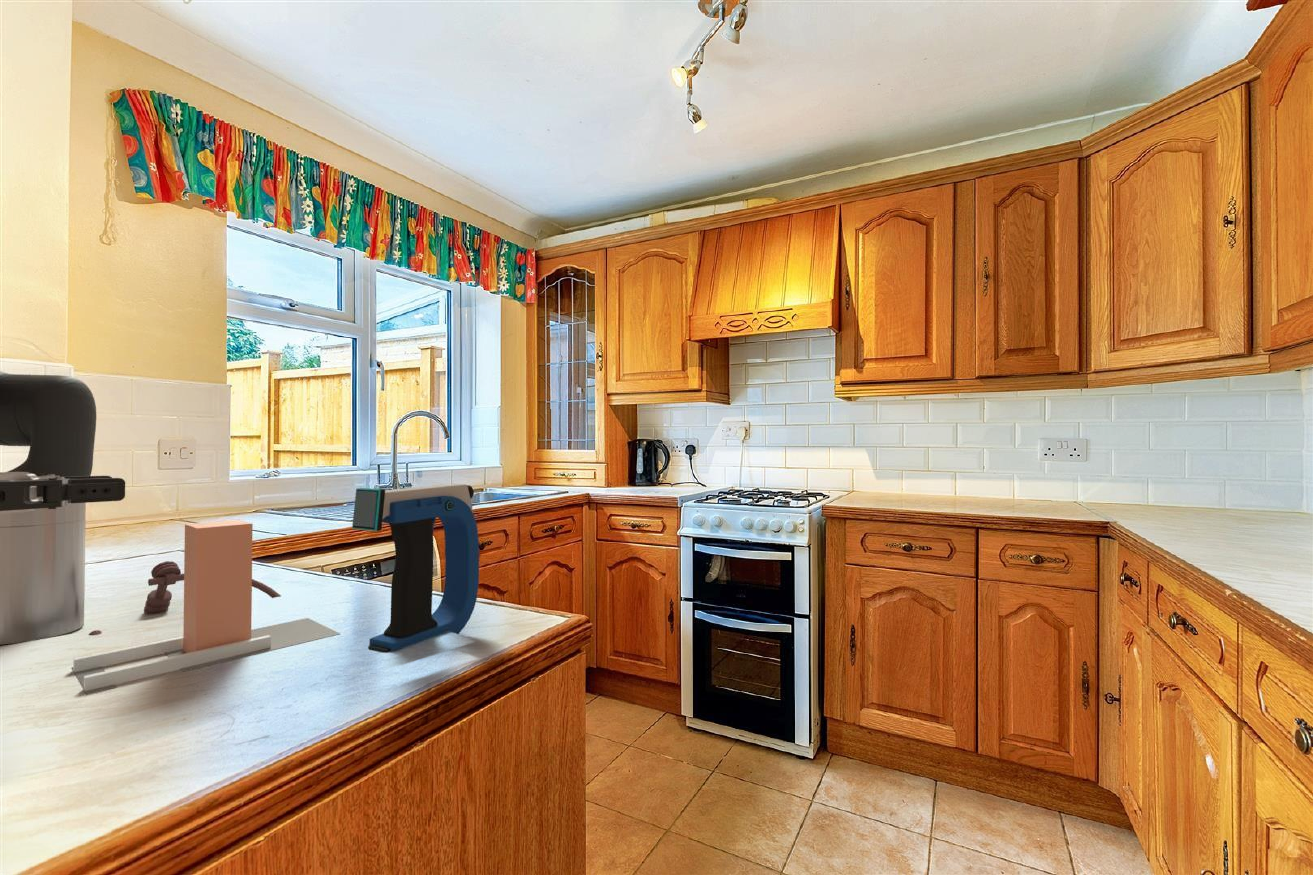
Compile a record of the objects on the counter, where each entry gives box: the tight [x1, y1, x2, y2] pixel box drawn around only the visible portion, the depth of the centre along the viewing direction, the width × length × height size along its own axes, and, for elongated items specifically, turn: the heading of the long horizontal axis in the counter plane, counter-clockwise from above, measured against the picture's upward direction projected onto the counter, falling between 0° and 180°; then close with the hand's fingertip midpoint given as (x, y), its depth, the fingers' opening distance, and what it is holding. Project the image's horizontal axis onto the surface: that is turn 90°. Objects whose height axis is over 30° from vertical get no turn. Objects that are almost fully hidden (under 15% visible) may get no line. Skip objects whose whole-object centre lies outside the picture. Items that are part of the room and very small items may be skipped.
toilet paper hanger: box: [88, 560, 282, 636], centre depth 81 cm, size 22×8×14 cm
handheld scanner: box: [351, 483, 480, 653], centre depth 70 cm, size 5×16×20 cm, turn 155°
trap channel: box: [71, 617, 341, 696], centre depth 64 cm, size 10×22×3 cm, turn 141°
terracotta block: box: [182, 519, 254, 653], centre depth 65 cm, size 5×5×14 cm
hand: (117, 487), depth 58 cm, fingers open, 5 cm apart
